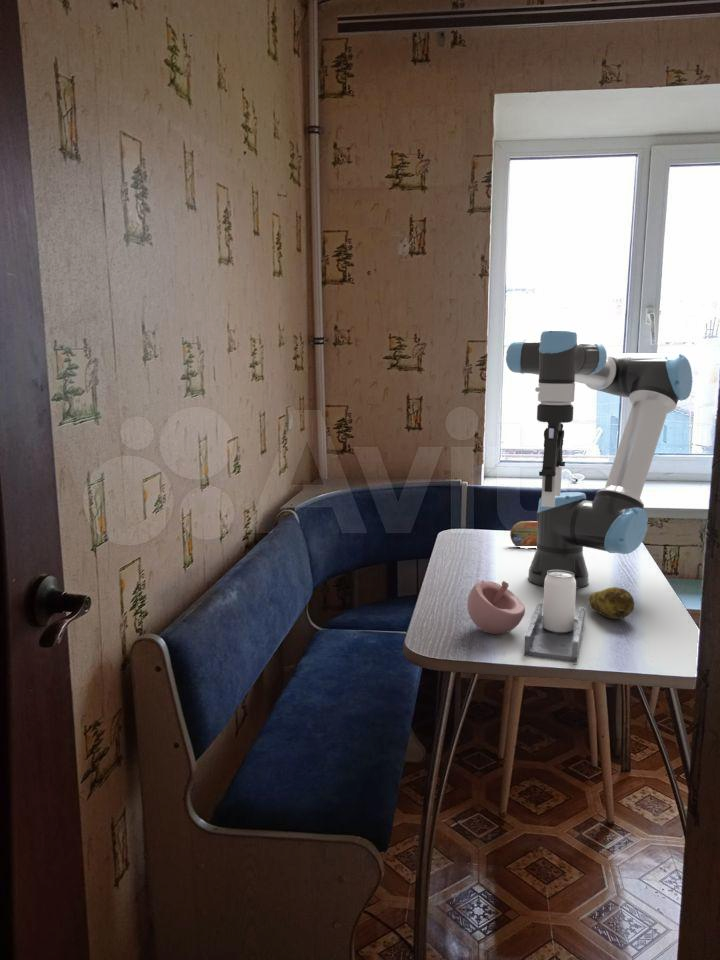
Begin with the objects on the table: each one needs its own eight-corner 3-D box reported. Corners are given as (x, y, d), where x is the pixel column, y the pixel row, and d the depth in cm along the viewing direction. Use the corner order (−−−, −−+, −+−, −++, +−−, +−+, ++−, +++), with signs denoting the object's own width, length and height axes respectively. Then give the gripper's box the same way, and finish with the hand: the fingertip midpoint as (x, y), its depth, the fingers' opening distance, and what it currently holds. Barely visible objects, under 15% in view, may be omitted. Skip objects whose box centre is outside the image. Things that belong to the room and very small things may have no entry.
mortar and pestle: (513, 646, 154) (515, 591, 152) (458, 635, 160) (459, 583, 158) (531, 628, 165) (533, 577, 163) (478, 619, 170) (479, 569, 169)
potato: (623, 610, 177) (625, 576, 175) (636, 629, 164) (639, 594, 163) (586, 608, 178) (587, 575, 176) (596, 628, 165) (598, 592, 164)
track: (537, 619, 170) (538, 602, 170) (584, 624, 167) (585, 607, 166) (524, 655, 150) (524, 636, 149) (576, 662, 146) (577, 642, 146)
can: (571, 635, 158) (574, 579, 156) (540, 631, 160) (542, 575, 158) (575, 625, 164) (578, 571, 162) (544, 621, 166) (547, 567, 164)
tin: (510, 548, 232) (511, 521, 231) (508, 546, 235) (509, 519, 234) (560, 549, 232) (561, 522, 230) (558, 547, 235) (559, 520, 233)
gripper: (543, 399, 176) (540, 490, 180) (530, 406, 153) (526, 510, 157) (577, 400, 174) (573, 492, 178) (569, 407, 151) (564, 513, 154)
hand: (551, 500), depth 167 cm, fingers open, 13 cm apart
